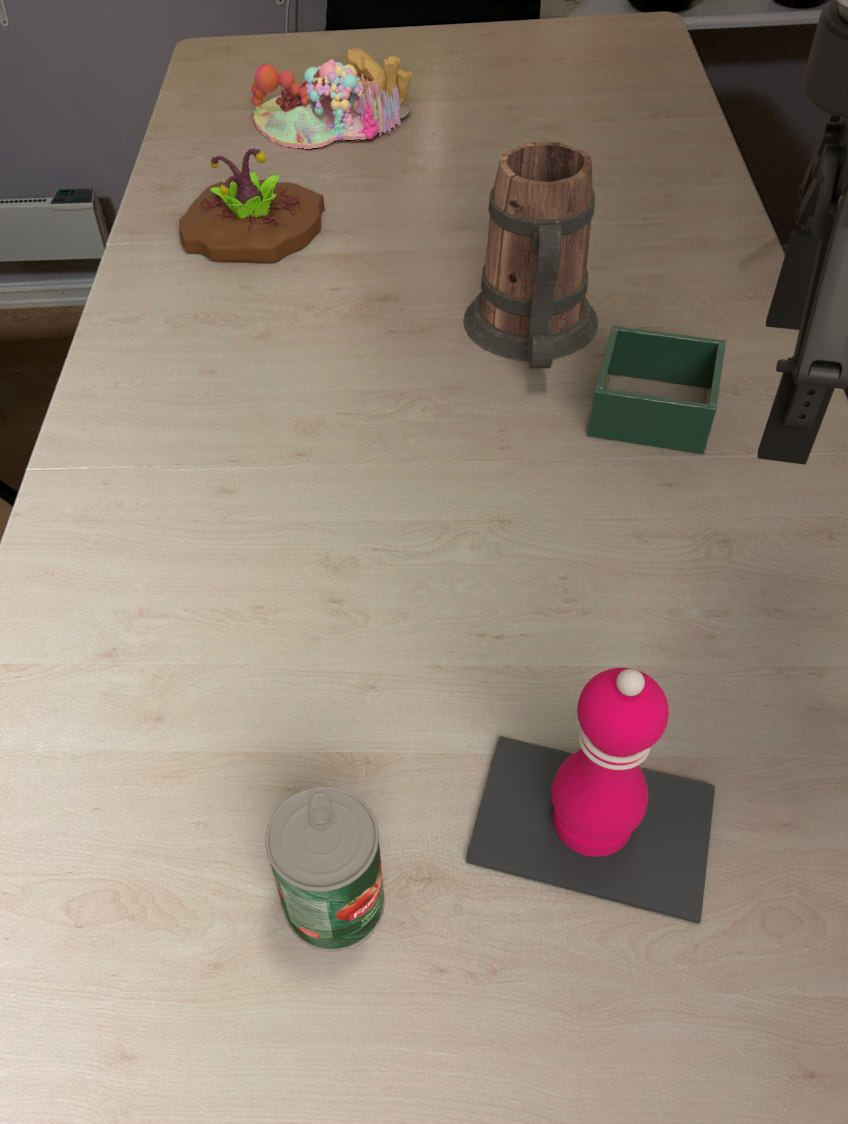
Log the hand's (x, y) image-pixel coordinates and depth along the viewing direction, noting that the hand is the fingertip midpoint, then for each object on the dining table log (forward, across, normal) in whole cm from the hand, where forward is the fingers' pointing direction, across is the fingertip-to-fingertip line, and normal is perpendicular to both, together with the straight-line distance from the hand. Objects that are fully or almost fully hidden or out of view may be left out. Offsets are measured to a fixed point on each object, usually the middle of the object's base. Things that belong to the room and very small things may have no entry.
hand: (784, 387), depth 61 cm
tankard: (+32, -50, -23) cm, 63 cm away
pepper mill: (+32, +16, -6) cm, 36 cm away
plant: (+32, -68, -66) cm, 100 cm away
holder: (+32, -38, -7) cm, 50 cm away
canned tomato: (+32, +28, -24) cm, 49 cm away
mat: (+32, +16, -6) cm, 36 cm away
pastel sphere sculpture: (+32, -104, -65) cm, 126 cm away
